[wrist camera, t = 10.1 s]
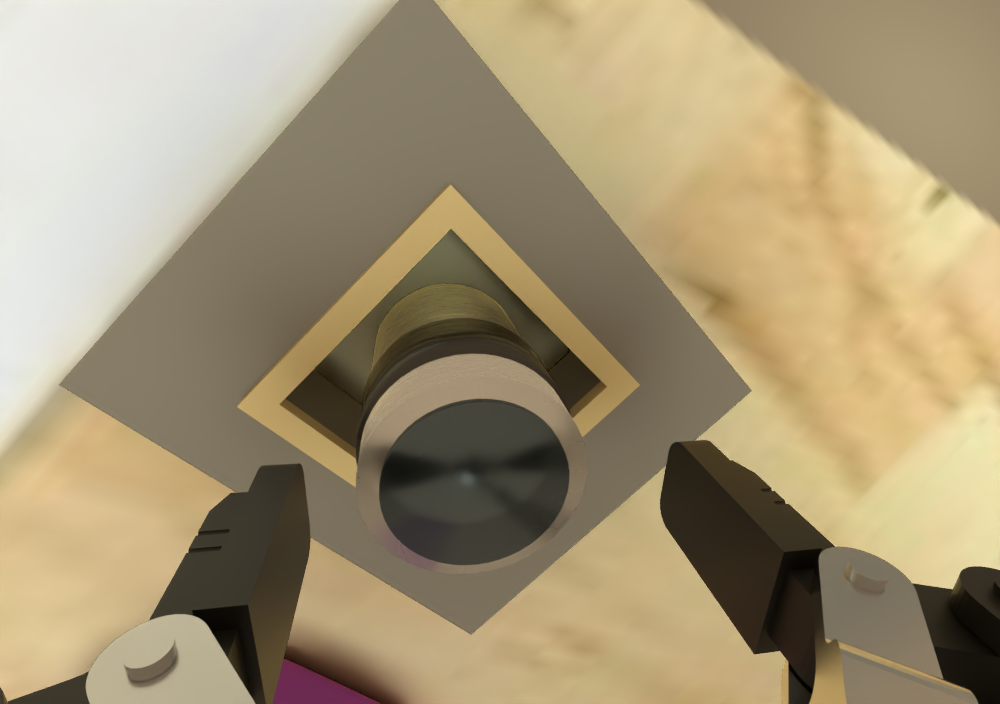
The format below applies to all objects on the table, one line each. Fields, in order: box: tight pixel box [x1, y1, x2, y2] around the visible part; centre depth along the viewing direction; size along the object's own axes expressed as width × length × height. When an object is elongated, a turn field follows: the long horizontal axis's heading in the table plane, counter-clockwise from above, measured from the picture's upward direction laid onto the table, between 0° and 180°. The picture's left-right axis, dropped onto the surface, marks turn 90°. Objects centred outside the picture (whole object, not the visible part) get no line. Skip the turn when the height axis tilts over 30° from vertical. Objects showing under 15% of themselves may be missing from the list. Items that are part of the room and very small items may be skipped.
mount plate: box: [59, 0, 751, 634], centre depth 17 cm, size 16×14×4 cm
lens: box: [356, 283, 587, 574], centre depth 15 cm, size 5×5×8 cm
